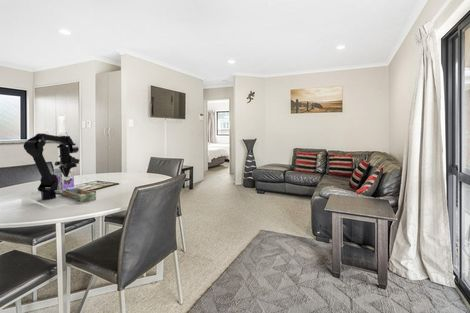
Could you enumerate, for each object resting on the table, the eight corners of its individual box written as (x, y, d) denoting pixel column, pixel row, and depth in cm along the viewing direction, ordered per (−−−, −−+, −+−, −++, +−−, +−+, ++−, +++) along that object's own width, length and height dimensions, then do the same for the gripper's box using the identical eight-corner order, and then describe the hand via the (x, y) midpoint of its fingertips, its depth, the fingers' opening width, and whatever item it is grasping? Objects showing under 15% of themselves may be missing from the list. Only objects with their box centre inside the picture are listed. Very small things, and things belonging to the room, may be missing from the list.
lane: (81, 202, 155) (80, 195, 154) (62, 196, 168) (62, 190, 168) (104, 197, 167) (104, 191, 166) (85, 192, 181) (85, 186, 180)
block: (69, 195, 167) (69, 189, 167) (66, 194, 170) (65, 188, 169) (77, 193, 171) (77, 187, 171) (74, 192, 174) (74, 186, 173)
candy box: (62, 191, 183) (60, 168, 181) (54, 190, 183) (52, 168, 181) (74, 186, 197) (73, 165, 195) (67, 186, 197) (65, 165, 195)
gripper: (84, 154, 173) (85, 176, 175) (71, 152, 184) (72, 173, 185) (66, 155, 164) (67, 179, 166) (53, 153, 175) (55, 175, 176)
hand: (66, 176), depth 173 cm, fingers closed
